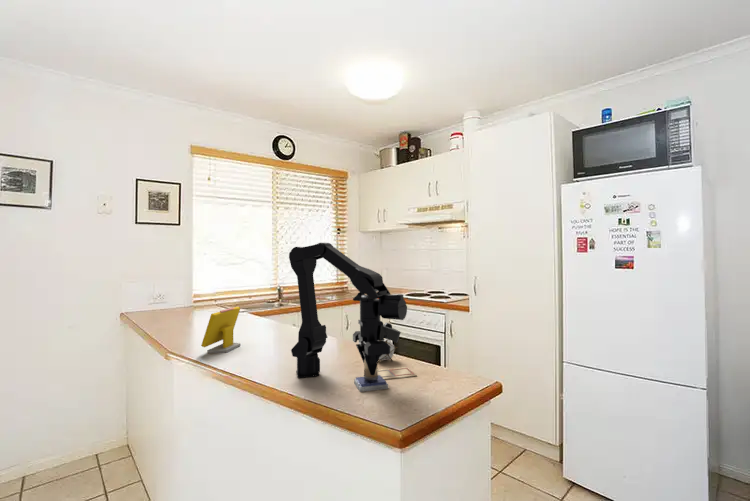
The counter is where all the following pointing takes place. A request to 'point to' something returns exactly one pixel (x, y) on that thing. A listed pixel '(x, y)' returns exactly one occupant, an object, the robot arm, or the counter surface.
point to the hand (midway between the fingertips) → (370, 372)
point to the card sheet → (396, 373)
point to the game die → (392, 349)
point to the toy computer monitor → (221, 330)
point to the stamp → (367, 373)
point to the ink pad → (370, 384)
